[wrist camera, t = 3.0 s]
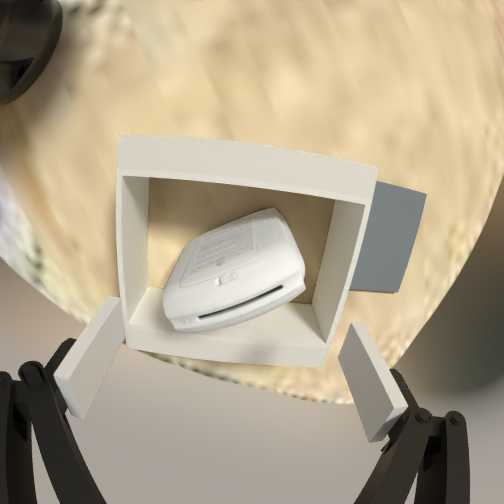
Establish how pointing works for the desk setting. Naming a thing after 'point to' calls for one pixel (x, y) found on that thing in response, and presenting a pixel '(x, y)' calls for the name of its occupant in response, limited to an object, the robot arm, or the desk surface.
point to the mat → (388, 238)
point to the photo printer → (234, 274)
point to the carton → (253, 175)
